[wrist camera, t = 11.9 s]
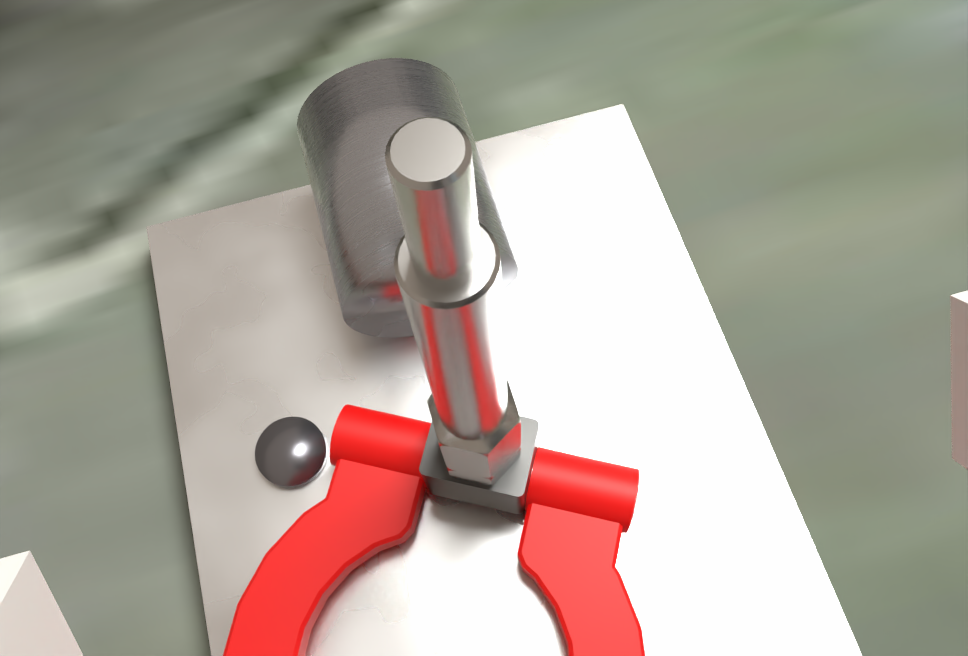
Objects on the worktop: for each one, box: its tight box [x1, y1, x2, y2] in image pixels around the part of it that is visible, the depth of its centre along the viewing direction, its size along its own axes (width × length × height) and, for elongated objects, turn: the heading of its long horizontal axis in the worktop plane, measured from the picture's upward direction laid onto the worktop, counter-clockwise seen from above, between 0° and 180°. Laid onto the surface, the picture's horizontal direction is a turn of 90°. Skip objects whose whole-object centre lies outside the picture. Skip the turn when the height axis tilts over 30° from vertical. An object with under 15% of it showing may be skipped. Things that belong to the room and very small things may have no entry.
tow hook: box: [223, 117, 645, 656], centre depth 12 cm, size 8×13×9 cm
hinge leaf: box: [147, 58, 862, 656], centre depth 17 cm, size 13×24×5 cm, turn 16°
